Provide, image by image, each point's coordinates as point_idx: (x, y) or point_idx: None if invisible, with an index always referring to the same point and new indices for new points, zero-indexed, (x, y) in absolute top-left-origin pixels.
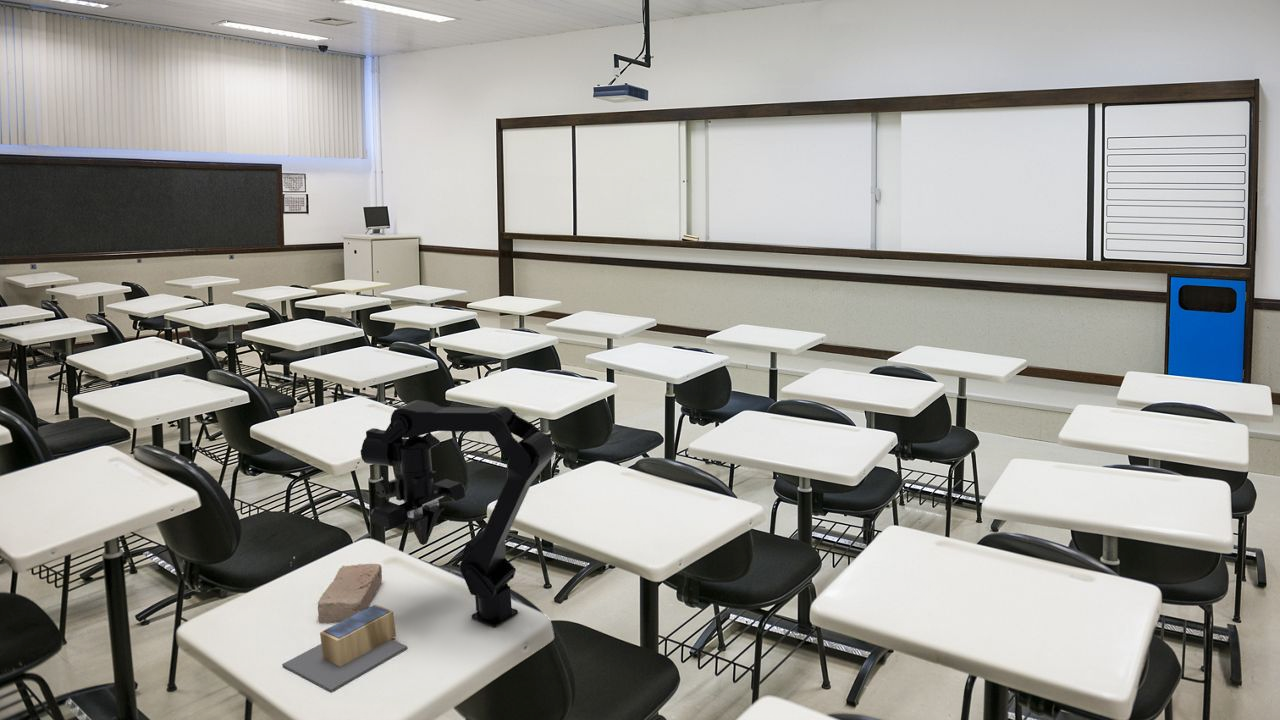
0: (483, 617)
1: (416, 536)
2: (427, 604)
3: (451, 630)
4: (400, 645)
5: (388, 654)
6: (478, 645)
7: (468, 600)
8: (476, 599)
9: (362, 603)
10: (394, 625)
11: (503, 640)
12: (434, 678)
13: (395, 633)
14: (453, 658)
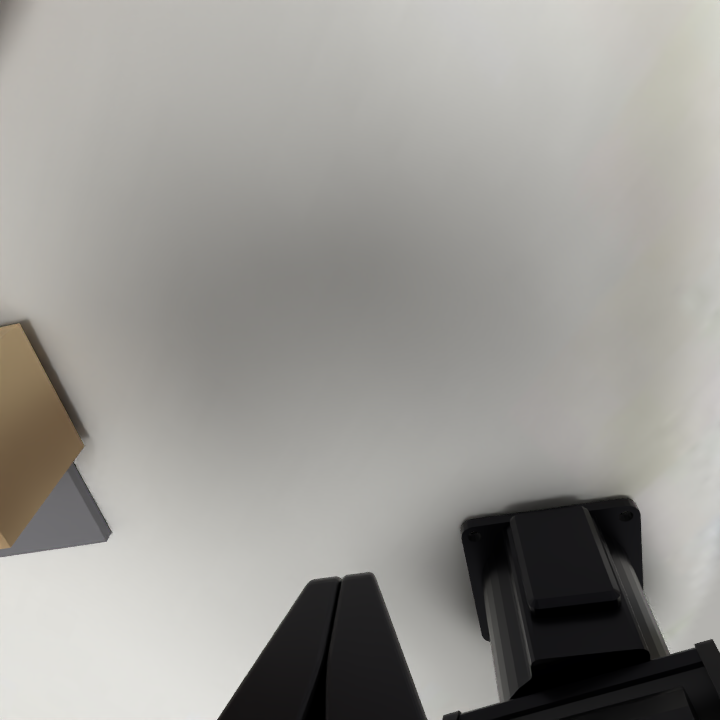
0: (483, 594)
1: (236, 694)
2: (375, 238)
3: (333, 537)
4: (81, 519)
5: (16, 541)
6: None
7: (576, 367)
8: (515, 587)
9: None
10: (53, 486)
11: (447, 698)
12: (136, 712)
13: (76, 456)
14: (240, 674)
